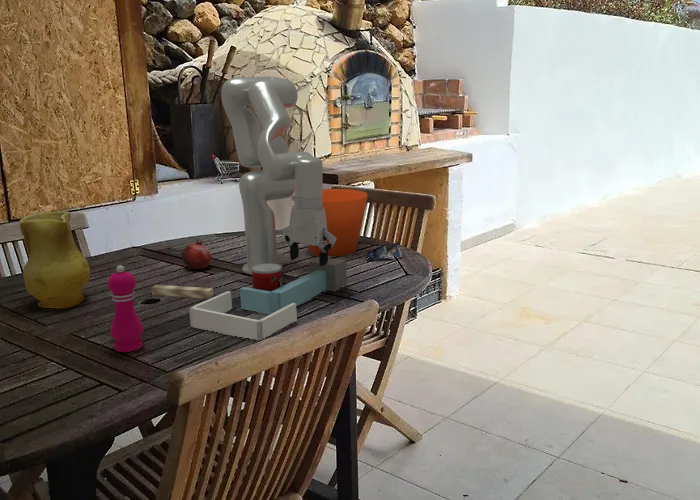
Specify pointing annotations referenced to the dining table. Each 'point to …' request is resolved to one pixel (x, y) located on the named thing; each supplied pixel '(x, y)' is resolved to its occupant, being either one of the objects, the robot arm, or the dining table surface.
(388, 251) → the snack package
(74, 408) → the dining table surface
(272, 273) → the canned food
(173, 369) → the dining table surface
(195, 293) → the stick
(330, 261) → the teal gray angled bar
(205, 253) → the fruit
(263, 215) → the robot arm
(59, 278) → the pitcher
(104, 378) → the dining table surface
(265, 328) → the bay
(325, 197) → the flowerpot
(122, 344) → the pepper mill
